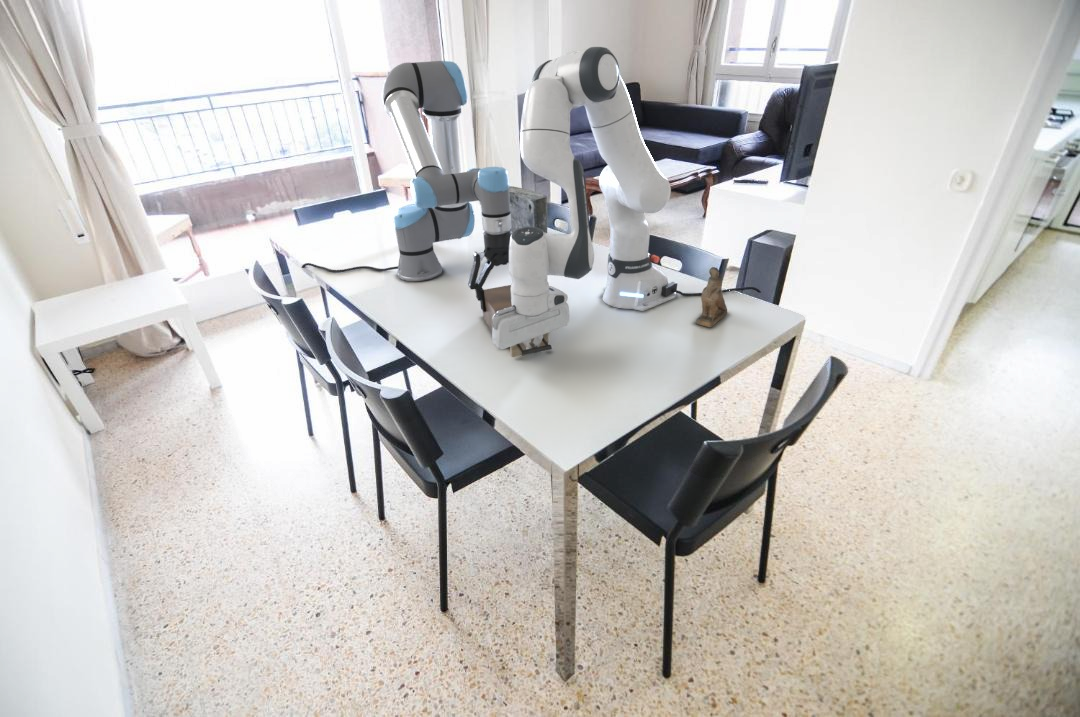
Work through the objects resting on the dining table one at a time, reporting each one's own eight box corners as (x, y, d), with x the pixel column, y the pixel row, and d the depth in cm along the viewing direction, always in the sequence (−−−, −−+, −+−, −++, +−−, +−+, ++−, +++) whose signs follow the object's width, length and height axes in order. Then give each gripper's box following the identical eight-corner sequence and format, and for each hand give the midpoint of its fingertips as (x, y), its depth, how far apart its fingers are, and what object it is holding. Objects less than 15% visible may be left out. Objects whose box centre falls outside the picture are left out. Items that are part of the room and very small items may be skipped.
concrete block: (552, 248, 194) (551, 196, 184) (534, 253, 190) (532, 200, 179) (515, 232, 213) (512, 184, 202) (497, 237, 208) (493, 188, 198)
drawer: (556, 359, 122) (555, 335, 119) (518, 367, 119) (516, 343, 116) (525, 319, 141) (524, 297, 137) (492, 326, 138) (490, 304, 135)
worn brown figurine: (709, 335, 136) (713, 280, 124) (691, 329, 139) (693, 274, 128) (730, 313, 142) (736, 258, 130) (712, 307, 145) (716, 253, 133)
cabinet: (541, 340, 132) (540, 310, 128) (502, 348, 129) (499, 318, 125) (519, 310, 148) (517, 283, 143) (483, 317, 145) (480, 290, 140)
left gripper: (456, 240, 124) (466, 319, 135) (544, 228, 130) (546, 304, 142) (450, 232, 130) (460, 308, 141) (534, 221, 136) (537, 294, 148)
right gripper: (498, 318, 107) (503, 371, 114) (573, 293, 117) (573, 343, 124) (484, 307, 111) (489, 360, 119) (557, 284, 121) (557, 334, 128)
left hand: (503, 306), depth 142 cm, fingers closed on cabinet, 11 cm apart
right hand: (532, 351), depth 121 cm, fingers closed
